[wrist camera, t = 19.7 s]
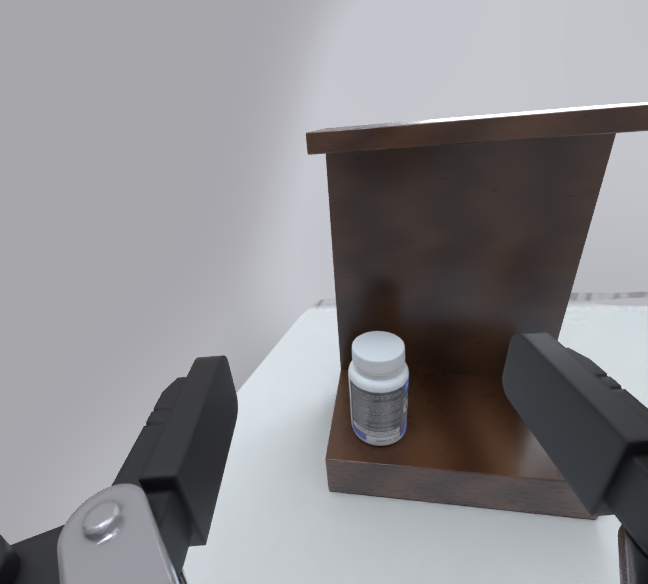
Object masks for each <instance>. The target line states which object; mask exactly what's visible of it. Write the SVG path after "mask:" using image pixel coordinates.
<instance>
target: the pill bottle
mask: <svg viewBox="0 0 648 584" xmlns="http://www.w3.org/2000/svg"><path fill="white" fill-rule="evenodd" d="M348 377H349V391H350V407H351V422H352V427H353V430H354V432H355V434H356V435H357V436H358V437H359V438H360V439H361V440H362V441H364V442H366V443H368V444H371V445H375V446H385V445H390V444H393V443H395V442H397V441H398V440H400V439H401V438H402V436H403V435H404V433H405V431H406V426H407V407H408V385H409V370H408V366H407V364H406V362H405V345H404V342H403V341H402V340H401V338H399V337H398V336H396V335H395V334H392V333H389V332H384V331H372V332H367V333H364V334H361V335H360V336H358V337H357V338H356V339H355V340H354V341H353V343H352V361H351V363H350V365H349V369H348Z"/></svg>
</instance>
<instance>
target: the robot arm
mask: <svg viewBox="0 0 648 584" xmlns="http://www.w3.org/2000/svg"><path fill="white" fill-rule="evenodd" d="M502 383H503V389H504V392H505V394H506V396H507V398H508V400H509V401H510V403H511V404H512V405H513V407H514V408H515V410H516V411H517V412H518V414H519V415H520V417H521V418H522V419H523V421H524V422H525V424H526V425H527V426H528V428H529V429H530V431H531V432H532V434H533V435H534V436H535V438H536V439H537V441H538V442H539V443H540V445H541V446H542V448H543V449H544V450H545V452H546V453H547V455H548V456H549V458H550V459H551V460H552V462H553V463H554V465H555V466H556V467H557V469H558V470H559V472H560V473H561V474H562V476H563V477H564V479H565V480H566V481H567V483H568V484H569V486H570V487H571V489H572V490H573V491H574V493H575V494H576V496H577V497H578V498H579V500H580V501H581V503H582V504H583V505H584V507H585V508H586V510H587V511H588V512H589V514H590V515H591V516H601V515H614V514H615V516H616V517H617V518H618V520H619V521H620V522H621V524H622V525H621V527H620V528H619V531H618V548H619V569H620V584H648V408H646V407H645V406H644V405H643V404H642V403H641V402H639V401H638V400H637V399H636V398H635V397H634V396H632V395H631V394H630V393H629V392H628V391H627V390H625V389H622V388H621V385H619V384H618V383H617V382H616V381H615V380H614V379H612V378H611V377H608V376H607V373H605V372H604V371H603V370H602V369H601V368H600V367H598V366H597V365H596V364H595V363H594V362H593V361H591V360H590V359H589V358H587V357H585V356H583V355H581V354H579V353H577V352H575V351H573V350H571V349H570V348H565V347H564V346H563V345H562V344H560V343H559V342H558V341H557V340H556V339H555V338H554V337H553V336H551V335H550V334H549V333H548V332H545V331H537V332H525V333H515V334H514V335H513V336H512V337H511V340H510V344H509V348H508V353H507V357H506V362H505V366H504V371H503V376H502ZM237 413H238V401H237V395H236V391H235V387H234V383H233V379H232V375H231V371H230V367H229V363H228V360H227V358H226V356H211V357H199V358H196V360H195V361H194V363H193V365H192V367H191V370H190V372H189V373H188V375H187V377H182V378H177V379H176V380H175V381H174V382H173V383H172V384H171V385H170V386H168V387H167V388H166V389H165V390H164V391H163V392H162V394H161V396H160V398H159V400H158V402H157V403H156V405H155V407H154V411H153V412H151V414H150V416H149V418H148V420H147V422H146V426H144V427H143V429H142V431H141V433H140V435H139V436H138V438H137V440H136V442H135V444H134V446H133V447H132V449H131V451H130V453H129V455H128V457H127V458H126V460H125V462H124V464H123V466H122V468H121V470H120V471H119V473H118V475H117V477H116V479H115V481H114V483H113V484H112V486H111V487H108V488H106V489H104V490H102V491H100V492H98V493H96V494H95V495H93V496H92V497H90V498H89V499H88V500H86V501H85V502H84V503H83V504H82V505H81V506H80V507H79V508H77V510H76V511H75V512H74V513H73V514H72V515H71V517H70V518H69V519H68V521H67V522H66V524H65V525H62V526H60V527H57V528H55V529H52V530H50V531H47V532H45V533H42V534H39V535H36V536H34V537H31V538H29V539H26V540H23V541H21V542H18V543H15V544H13V545H9V544H8V543H7V542H6V541H5V539H4V538H3V537H2V536H1V535H0V584H189V583H188V581H187V578H186V575H185V573H184V570H183V565H184V561H185V558H186V554H187V551H188V547H189V546H200V545H206V542H207V538H208V534H209V530H210V526H211V522H212V518H213V514H214V510H215V505H216V501H217V497H218V493H219V489H220V485H221V481H222V477H223V473H224V469H225V465H226V461H227V457H228V453H229V448H230V444H231V440H232V436H233V432H234V428H235V424H236V420H237Z"/></svg>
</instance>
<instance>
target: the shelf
mask: <svg viewBox="0 0 648 584" xmlns="http://www.w3.org/2000/svg"><path fill="white" fill-rule="evenodd" d="M636 131H648V103H629V104H611V105H600V106H587V107H575V108H564V109H552V110H540V111H528V112H516V113H505V114H492V115H480V116H469V117H457V118H446V119H434V120H433V119H432V120H421V121H409V122H397V123H385V124H374V125H363V126H362V125H361V126H349V127H338V128H326V129H322V130H317V131H312V132H308V133H306V141H307V151H308V154H309V155H311V154H325V153H326V164H327V178H328V193H329V206H330V221H331V235H332V250H333V264H334V278H335V292H336V306H337V321H338V335H339V349H340V363H341V372H340V378H339V384H338V390H337V396H336V401H335V407H334V413H333V419H332V424H331V430H330V436H329V442H328V448H327V453H326V459H325V460H326V468H327V477H328V486H329V491H335V492H345V493H354V494H363V495H372V496H382V497H391V498H400V499H410V500H419V501H428V502H437V503H447V504H456V505H465V506H474V507H484V508H493V509H502V510H512V511H521V512H530V513H539V514H549V515H558V516H567V517H577V518H586V519H595V520H596V519H597V517H598V516H591V515H590V514H589V512H588V511H587V510H586V508H585V507H584V505H583V504H582V503H581V501H580V500H579V498H578V497H577V496H576V494H575V493H574V491H573V490H572V489H571V487H570V486H569V484H568V483H567V481H566V480H565V479H564V477H563V476H562V474H561V473H560V472H559V470H558V469H557V467H556V466H555V465H554V463H553V462H552V460H551V459H550V458H549V456H548V455H547V453H546V452H545V450H544V449H543V448H542V446H541V445H540V443H539V442H538V441H537V439H536V438H535V436H534V435H533V434H532V432H531V431H530V429H529V428H528V426H527V425H526V424H525V422H524V421H523V419H522V418H521V417H520V415H519V414H518V412H517V411H516V410H515V408H514V407H513V405H512V404H511V403H510V401H509V400H508V398H507V396H506V394H505V392H504V389H503V383H502V376H503V371H504V366H505V362H506V357H507V353H508V348H509V344H510V340H511V337H512V336H513V335H514V334H515V333H525V332H537V331H545V332H548V333H549V334H550V335H551V336H553V337H554V338H555V339H556V340H558V337H559V333H560V330H561V326H562V322H563V319H564V315H565V312H566V308H567V305H568V301H569V298H570V294H571V290H572V287H573V284H574V280H575V276H576V273H577V269H578V266H579V262H580V259H581V255H582V252H583V248H584V245H585V241H586V238H587V234H588V230H589V227H590V223H591V220H592V216H593V213H594V209H595V206H596V202H597V199H598V195H599V191H600V188H601V184H602V181H603V177H604V174H605V170H606V167H607V163H608V160H609V156H610V153H611V149H612V145H613V142H614V138H615V135H616V133H622V132H636ZM372 331H384V332H389V333H392V334H395V335H396V336H398V337H399V338H401V340H402V341H403V342H404V345H405V362H406V364H407V366H408V370H409V385H408V407H407V426H406V431H405V433H404V435H403V436H402V438H401V439H400V440H398V441H397V442H395V443H393V444H390V445H385V446H375V445H371V444H368V443H366V442H364V441H362V440H361V439H360V438H359V437H358V436H357V435H356V434H355V432H354V430H353V427H352V422H351V407H350V391H349V377H348V369H349V365H350V363H351V361H352V343H353V341H354V340H355V339H356V338H357V337H358V336H360V335H361V334H364V333H367V332H372Z"/></svg>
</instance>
